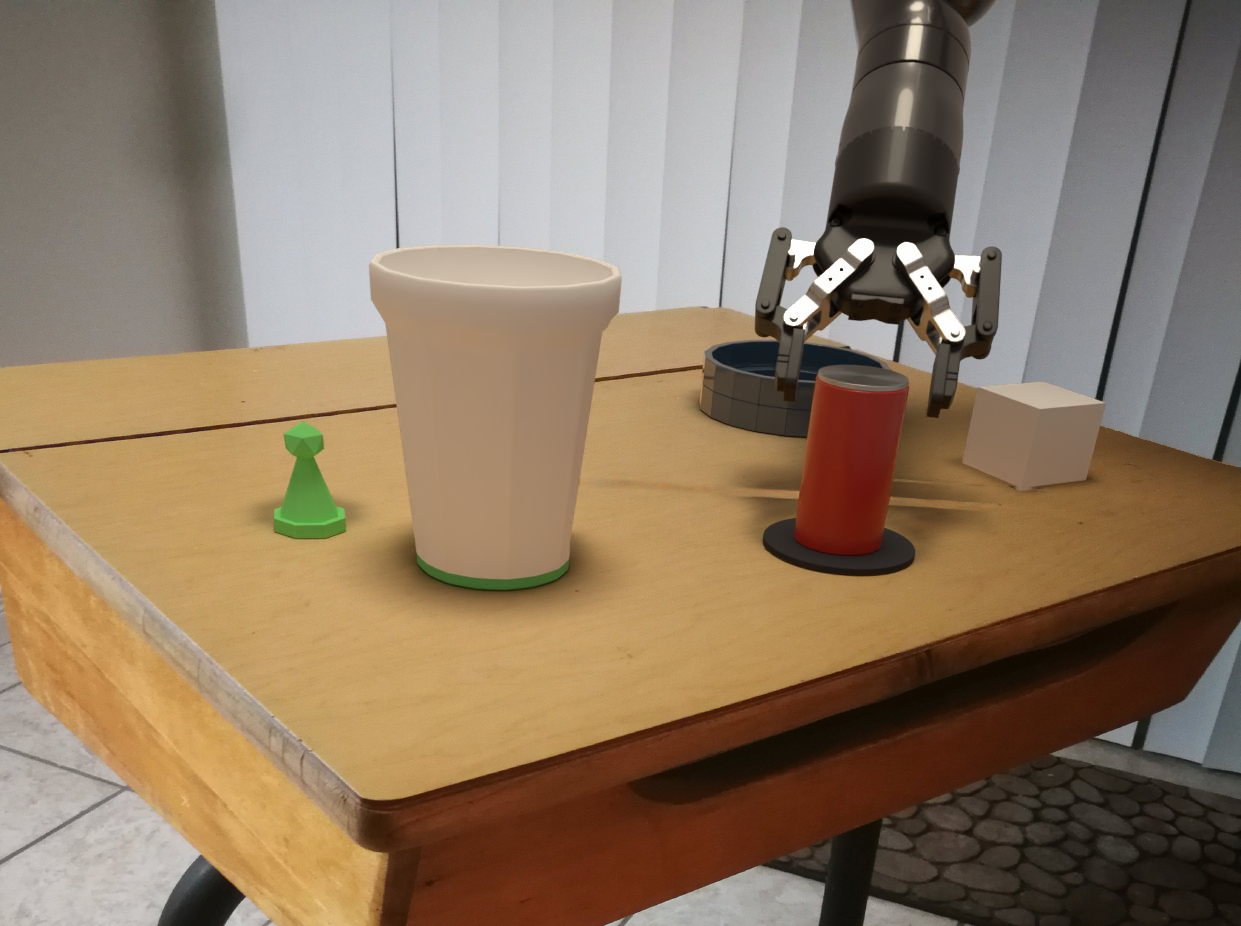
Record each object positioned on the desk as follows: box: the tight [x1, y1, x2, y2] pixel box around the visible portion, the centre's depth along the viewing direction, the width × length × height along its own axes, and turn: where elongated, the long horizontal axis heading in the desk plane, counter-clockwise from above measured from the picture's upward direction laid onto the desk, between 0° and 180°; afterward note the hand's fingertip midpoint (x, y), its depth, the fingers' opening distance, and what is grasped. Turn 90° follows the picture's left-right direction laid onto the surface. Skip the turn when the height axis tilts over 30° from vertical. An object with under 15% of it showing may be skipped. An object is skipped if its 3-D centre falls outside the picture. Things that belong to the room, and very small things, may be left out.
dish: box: [698, 339, 893, 438], centre depth 101 cm, size 14×14×4 cm
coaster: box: [762, 517, 916, 576], centre depth 77 cm, size 9×9×1 cm
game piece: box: [273, 420, 347, 539], centre depth 74 cm, size 4×4×6 cm
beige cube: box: [961, 381, 1107, 492], centre depth 90 cm, size 6×6×6 cm
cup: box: [368, 244, 623, 591], centre depth 68 cm, size 12×12×15 cm
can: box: [794, 365, 910, 556], centre depth 75 cm, size 5×5×10 cm
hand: (861, 402), depth 77 cm, fingers open, 8 cm apart
